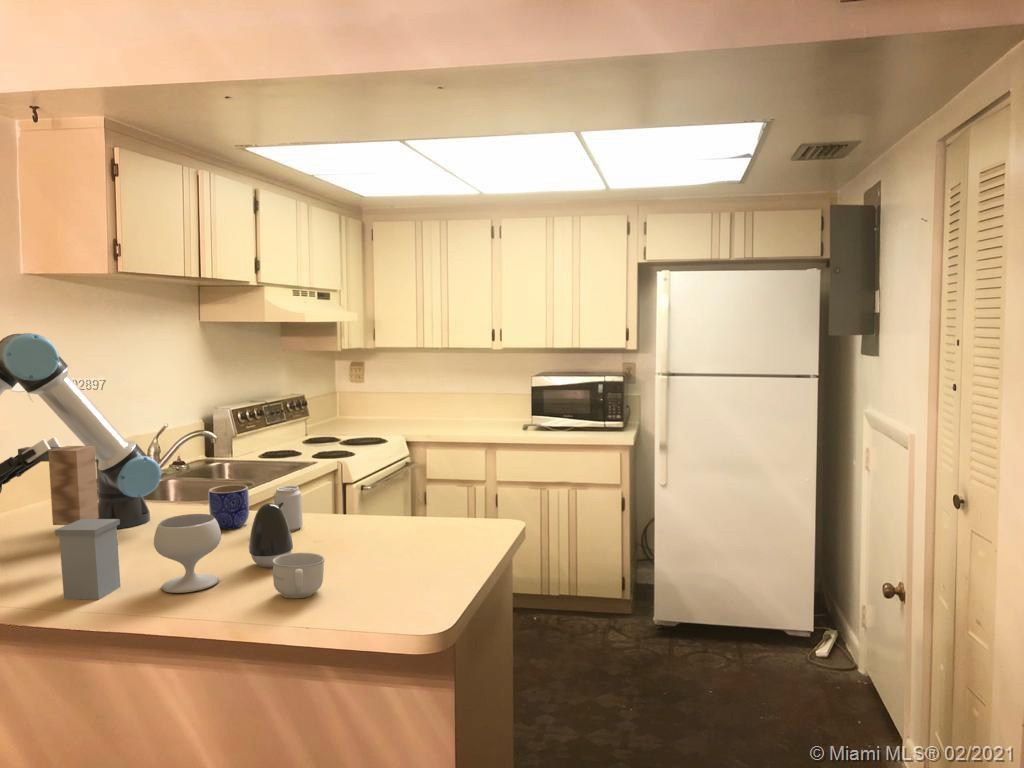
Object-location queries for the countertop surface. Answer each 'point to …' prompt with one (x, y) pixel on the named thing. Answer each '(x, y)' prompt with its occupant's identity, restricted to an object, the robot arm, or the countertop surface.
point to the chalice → (188, 548)
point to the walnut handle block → (71, 482)
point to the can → (290, 505)
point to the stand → (89, 558)
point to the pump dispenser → (269, 535)
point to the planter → (229, 505)
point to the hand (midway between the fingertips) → (52, 443)
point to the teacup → (298, 574)
